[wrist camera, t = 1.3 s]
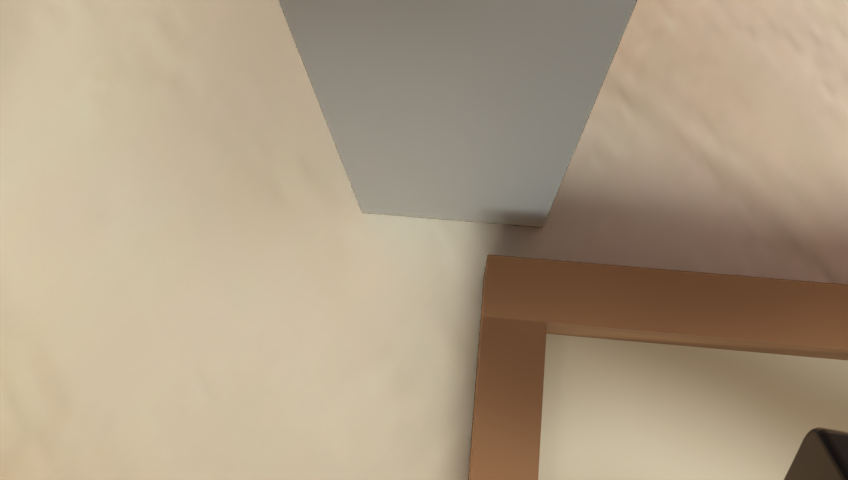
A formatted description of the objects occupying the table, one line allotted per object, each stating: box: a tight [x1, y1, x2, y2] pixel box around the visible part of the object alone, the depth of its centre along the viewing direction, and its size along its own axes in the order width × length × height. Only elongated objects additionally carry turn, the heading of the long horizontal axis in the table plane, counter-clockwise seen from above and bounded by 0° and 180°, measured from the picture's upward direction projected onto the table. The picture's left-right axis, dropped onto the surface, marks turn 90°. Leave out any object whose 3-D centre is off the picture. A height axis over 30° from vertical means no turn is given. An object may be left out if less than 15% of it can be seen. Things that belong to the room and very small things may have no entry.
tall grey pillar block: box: [279, 0, 637, 227], centre depth 16 cm, size 4×5×13 cm
